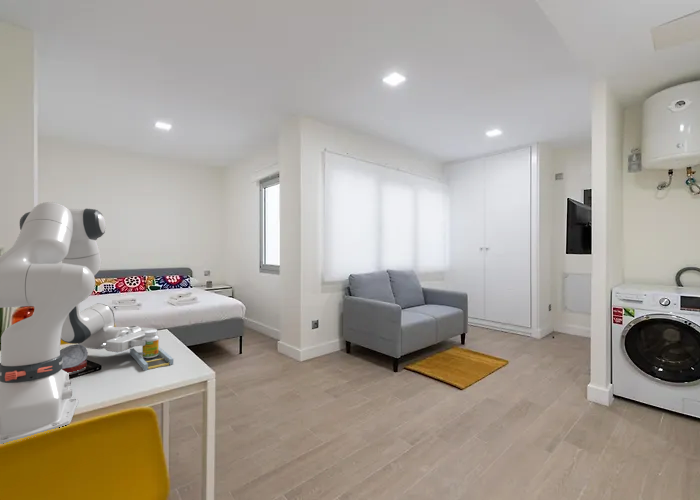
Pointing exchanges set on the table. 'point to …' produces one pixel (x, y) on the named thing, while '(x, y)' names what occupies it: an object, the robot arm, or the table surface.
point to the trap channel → (152, 364)
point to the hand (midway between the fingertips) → (152, 340)
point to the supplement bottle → (150, 344)
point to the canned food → (74, 358)
